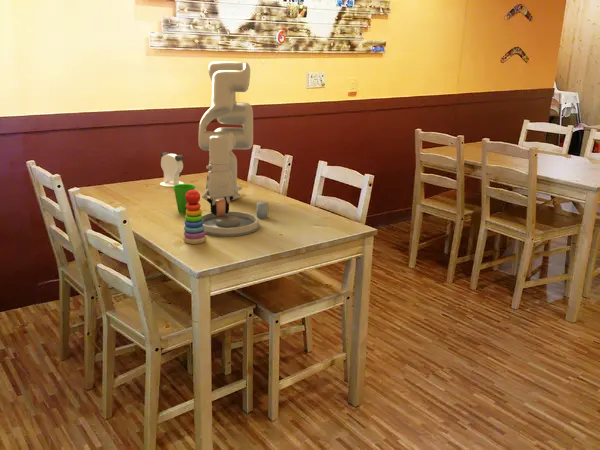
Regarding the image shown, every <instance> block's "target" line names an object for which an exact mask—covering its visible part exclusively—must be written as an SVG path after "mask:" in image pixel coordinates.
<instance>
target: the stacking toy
mask: <svg viewBox="0 0 600 450" xmlns="http://www.w3.org/2000/svg"><path fill="white" fill-rule="evenodd" d="M185 198H186V201H187V202H188V203H187V204H186V208H187V210H186V214H184V215H185V216H184V220H185V221H184V226H183V235H184V236H183V237H182V239H183V242H184V243H186V244H189V245H196V244H197V245H198V244H203V243H204V242H205V241H206V240H207V237H206V234H205V230H204V226H203V220H202V215H203V213H202V212H203V211H202V209H201V206H202V205H201V203H199V202H200V201H201V194H200V193H199V191H198V190H196V189H194V190H189V191H188V192H187V193H186V196H185Z"/></svg>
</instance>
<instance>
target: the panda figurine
mask: <svg viewBox="0 0 600 450" xmlns="http://www.w3.org/2000/svg"><path fill="white" fill-rule="evenodd" d="M160 157H161V159H160V167H161V169H162V171H163V181H162V182H160V183H159V185H160V186H161V187H165V188H173V186H174V185H177V184H185V182H183V181H180V178H181V176H182V174H181V172H182V171H183V169H184V162H183V160H184V156H183V155H182V154H178V155H177V154H176V153H169V152H168V151H167V152H162V153H160Z"/></svg>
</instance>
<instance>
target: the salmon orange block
mask: <svg viewBox="0 0 600 450" xmlns="http://www.w3.org/2000/svg"><path fill="white" fill-rule="evenodd" d="M215 205H216V215H214V216H217V217H221V216H226V200H225V199H216V201H215Z"/></svg>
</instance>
